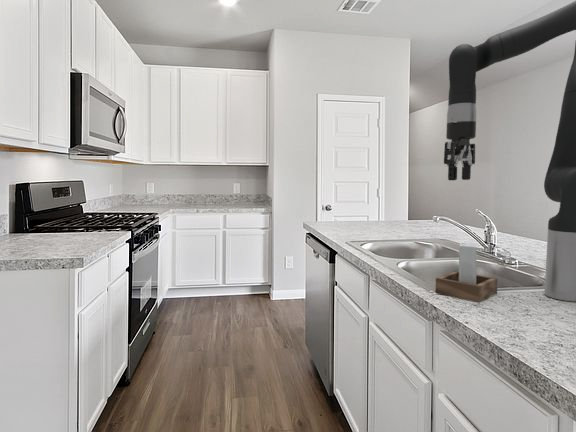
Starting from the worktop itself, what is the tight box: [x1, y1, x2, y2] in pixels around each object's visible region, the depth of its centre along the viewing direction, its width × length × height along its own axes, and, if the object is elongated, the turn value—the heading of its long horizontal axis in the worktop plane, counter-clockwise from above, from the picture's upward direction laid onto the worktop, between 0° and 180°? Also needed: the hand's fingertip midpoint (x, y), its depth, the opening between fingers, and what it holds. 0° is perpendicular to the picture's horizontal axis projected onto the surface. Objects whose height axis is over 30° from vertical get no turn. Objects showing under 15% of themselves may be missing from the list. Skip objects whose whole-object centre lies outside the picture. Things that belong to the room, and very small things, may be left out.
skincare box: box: [458, 242, 477, 285], centre depth 107 cm, size 6×4×12 cm
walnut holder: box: [434, 270, 498, 303], centre depth 107 cm, size 11×11×4 cm
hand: (459, 180), depth 113 cm, fingers open, 8 cm apart
